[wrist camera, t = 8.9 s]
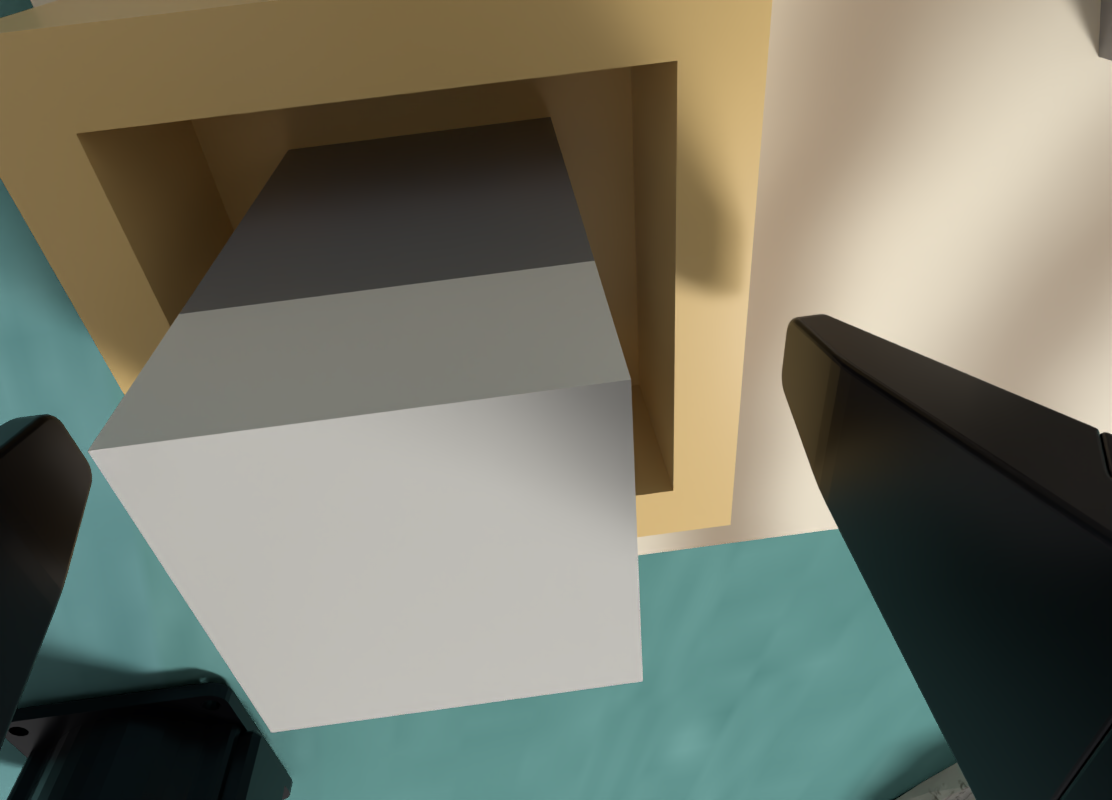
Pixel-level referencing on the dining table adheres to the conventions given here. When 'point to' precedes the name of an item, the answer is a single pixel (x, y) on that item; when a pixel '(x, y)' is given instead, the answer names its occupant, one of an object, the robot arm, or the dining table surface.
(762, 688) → the dining table surface
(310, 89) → the end holder
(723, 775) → the dining table surface
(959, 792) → the packaged product
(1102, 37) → the clip
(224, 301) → the connector plug
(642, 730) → the dining table surface
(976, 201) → the board
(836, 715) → the dining table surface
